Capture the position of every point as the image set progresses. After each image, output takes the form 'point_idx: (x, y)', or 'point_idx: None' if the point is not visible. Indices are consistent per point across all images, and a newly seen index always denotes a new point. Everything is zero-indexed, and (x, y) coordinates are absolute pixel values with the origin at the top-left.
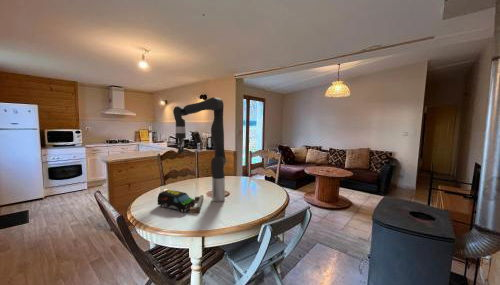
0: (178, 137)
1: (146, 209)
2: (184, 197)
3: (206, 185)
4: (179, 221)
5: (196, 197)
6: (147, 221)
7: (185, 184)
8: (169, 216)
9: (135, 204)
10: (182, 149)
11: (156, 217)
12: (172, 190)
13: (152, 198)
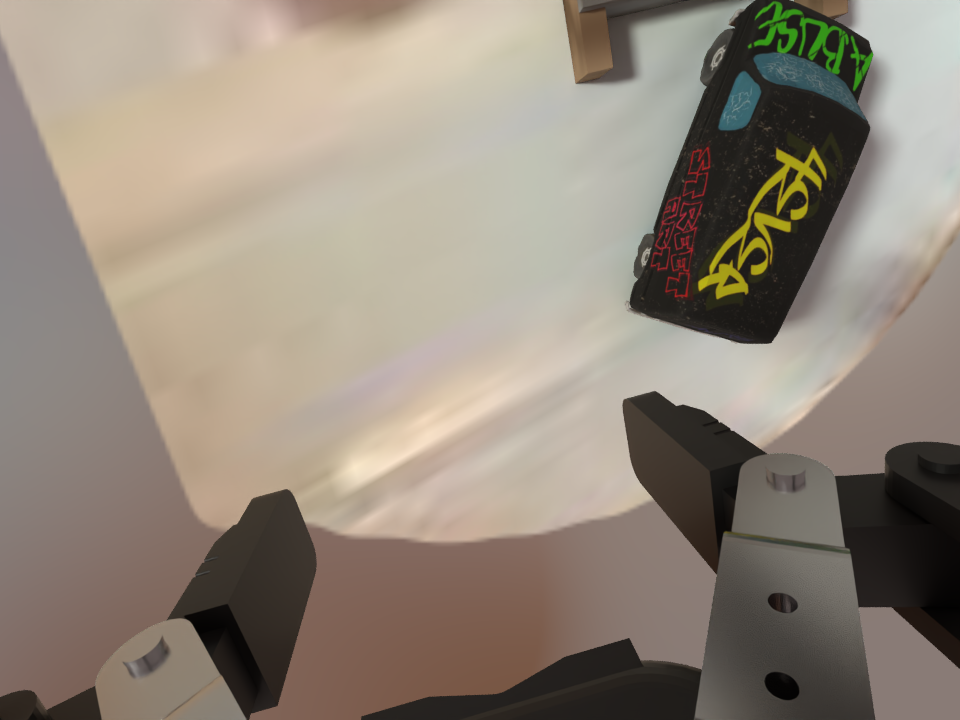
0: None
1: (752, 373)
2: (817, 81)
3: (109, 122)
4: (932, 53)
5: (609, 49)
6: (909, 265)
7: (163, 375)
8: (857, 162)
9: None
10: (269, 576)
11: (865, 242)
12: (720, 256)
13: (570, 450)
